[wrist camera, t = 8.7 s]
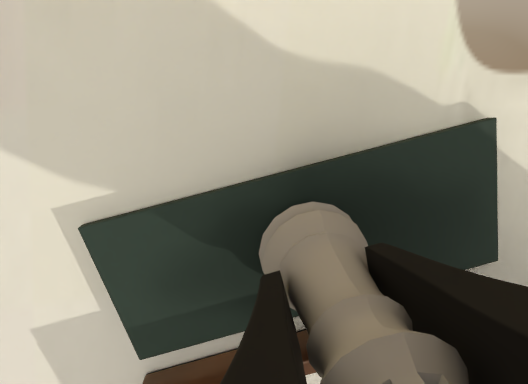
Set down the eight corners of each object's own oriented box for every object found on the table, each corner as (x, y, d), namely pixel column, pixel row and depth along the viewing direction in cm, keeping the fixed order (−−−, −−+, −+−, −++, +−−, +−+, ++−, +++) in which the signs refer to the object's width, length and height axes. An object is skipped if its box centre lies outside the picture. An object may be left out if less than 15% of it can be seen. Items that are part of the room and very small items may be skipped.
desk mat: (488, 117, 12) (496, 117, 12) (491, 256, 14) (498, 260, 14) (82, 224, 12) (77, 228, 11) (142, 353, 14) (139, 360, 13)
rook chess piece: (257, 199, 12) (297, 357, 4) (360, 197, 12) (579, 336, 4) (257, 292, 13) (289, 556, 5) (351, 287, 13) (512, 524, 5)
